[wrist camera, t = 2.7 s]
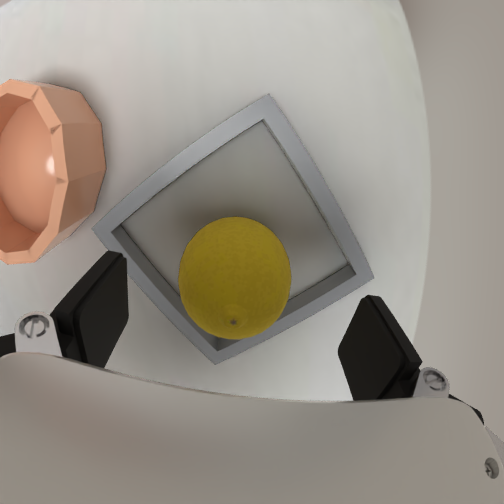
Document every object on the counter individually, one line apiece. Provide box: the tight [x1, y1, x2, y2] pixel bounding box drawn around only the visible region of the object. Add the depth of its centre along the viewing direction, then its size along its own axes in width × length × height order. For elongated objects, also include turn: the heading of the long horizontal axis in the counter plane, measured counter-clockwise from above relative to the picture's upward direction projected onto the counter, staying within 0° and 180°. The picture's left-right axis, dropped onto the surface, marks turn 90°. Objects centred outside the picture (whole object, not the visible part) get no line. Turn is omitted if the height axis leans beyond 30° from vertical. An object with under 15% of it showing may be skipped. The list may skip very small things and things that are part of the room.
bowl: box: [0, 79, 106, 265], centre depth 13 cm, size 11×11×4 cm
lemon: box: [178, 216, 291, 339], centre depth 14 cm, size 6×6×8 cm
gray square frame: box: [92, 94, 374, 365], centre depth 17 cm, size 13×13×2 cm
